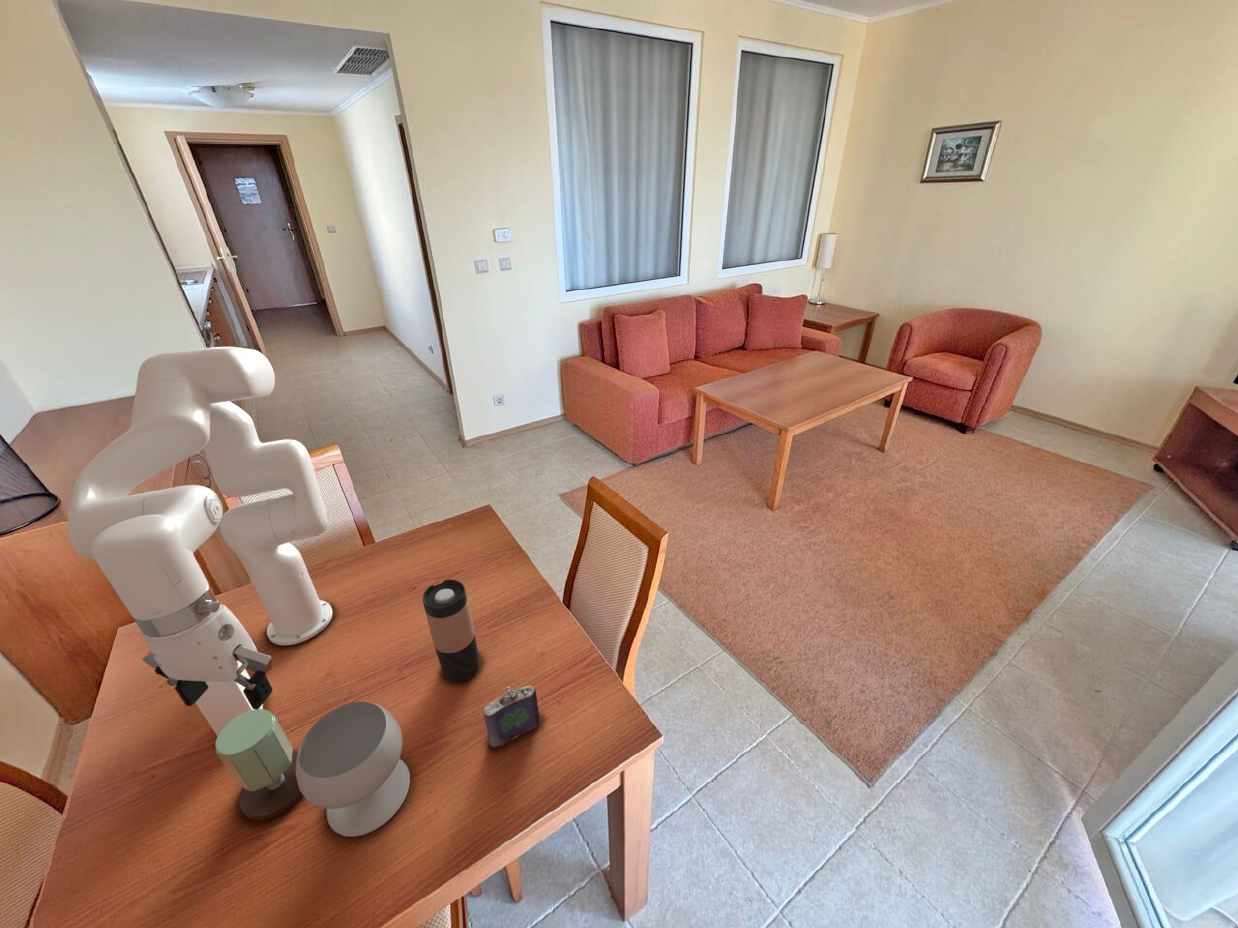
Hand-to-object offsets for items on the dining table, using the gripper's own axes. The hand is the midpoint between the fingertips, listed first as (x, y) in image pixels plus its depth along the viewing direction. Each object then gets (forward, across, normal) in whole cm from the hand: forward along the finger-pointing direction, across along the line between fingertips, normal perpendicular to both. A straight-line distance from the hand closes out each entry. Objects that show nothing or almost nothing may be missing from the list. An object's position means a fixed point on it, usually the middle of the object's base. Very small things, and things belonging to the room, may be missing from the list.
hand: (230, 698), depth 70 cm
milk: (+22, +15, -10) cm, 28 cm away
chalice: (+22, -15, 0) cm, 27 cm away
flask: (+22, -35, -11) cm, 43 cm away
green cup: (+16, +1, 0) cm, 16 cm away
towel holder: (+22, +1, 0) cm, 22 cm away
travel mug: (+22, -21, -24) cm, 39 cm away
